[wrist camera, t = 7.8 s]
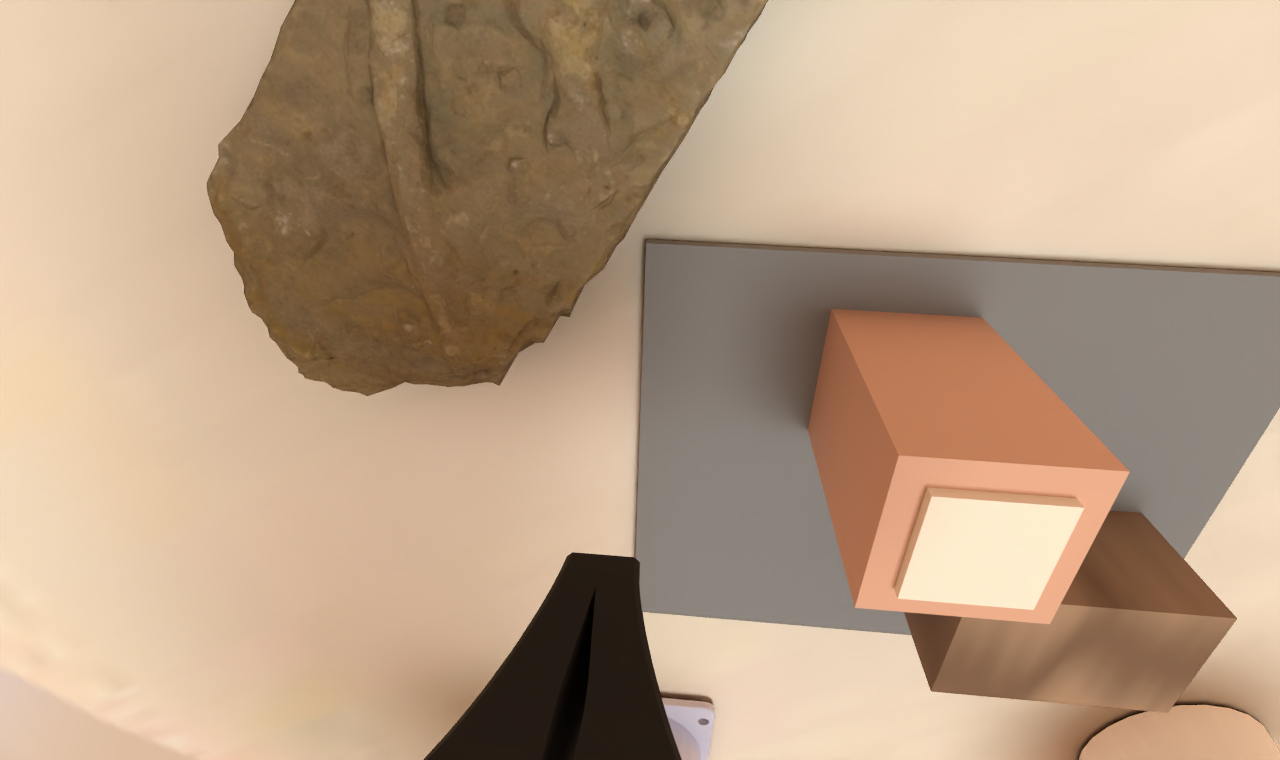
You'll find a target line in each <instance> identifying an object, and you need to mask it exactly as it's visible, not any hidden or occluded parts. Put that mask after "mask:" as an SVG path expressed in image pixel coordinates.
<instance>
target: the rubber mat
mask: <svg viewBox="0 0 1280 760" xmlns="http://www.w3.org/2000/svg"><path fill="white" fill-rule="evenodd" d="M831 309H842V310H860V311H877V312H894V313H912V314H929V315H946V316H963V317H981V318H983V319H984V320H985V321H986V322H987V323H988V324H989V325H990V326H991V327H992V328H993V329H994V330H995V331H996V332H997V333H998V334H999V335H1000V336H1001V338H1002V339H1003V340H1004V341H1005V342H1006V343H1007V344H1008V345H1009V346H1010V347H1011V348H1012V349H1013V350H1014V351H1015V352H1016V353H1017V354H1018V355H1019V356H1020V357H1021V358H1022V359H1023V360H1024V362H1025V363H1026V364H1027V365H1028V366H1029V367H1030V368H1031V369H1032V370H1033V371H1034V372H1035V373H1036V374H1037V375H1038V376H1039V377H1040V378H1041V379H1042V380H1043V381H1044V382H1045V383H1046V385H1047V386H1048V387H1049V388H1050V389H1051V390H1052V391H1053V392H1054V393H1055V394H1056V395H1057V396H1058V397H1059V398H1060V399H1061V400H1062V401H1063V402H1064V403H1065V404H1066V405H1067V406H1068V408H1069V409H1070V410H1071V411H1072V412H1073V413H1074V414H1075V415H1076V416H1077V417H1078V418H1079V419H1080V420H1081V421H1082V422H1083V423H1084V424H1085V425H1086V426H1087V427H1088V428H1089V429H1090V430H1091V432H1092V433H1093V434H1094V435H1095V436H1096V437H1097V438H1098V439H1099V440H1100V441H1101V442H1102V443H1103V444H1104V445H1105V446H1106V447H1107V448H1108V449H1109V450H1110V451H1111V452H1112V453H1113V455H1114V456H1115V457H1116V458H1117V459H1118V460H1119V461H1120V462H1121V463H1122V464H1123V465H1124V466H1125V467H1126V468H1127V469H1128V470H1129V471H1130V473H1129V474H1128V476H1127V478H1126V480H1125V482H1124V484H1123V486H1122V488H1121V490H1120V492H1119V493H1118V495H1117V497H1116V499H1115V501H1114V503H1113V505H1112V507H1111V509H1110V511H1122V512H1135V513H1142V514H1143V515H1144V516H1145V517H1146V518H1147V519H1148V520H1149V521H1150V522H1151V524H1152V525H1153V526H1154V527H1155V528H1156V529H1157V530H1158V531H1159V532H1160V534H1161V535H1162V536H1163V537H1164V538H1165V539H1166V540H1167V541H1168V542H1169V544H1170V545H1171V546H1172V547H1173V548H1174V549H1175V550H1176V551H1177V552H1178V554H1179V555H1180V556H1181V557H1182V558H1183V559H1184V558H1185V556H1186V555H1187V553H1188V552H1189V550H1190V548H1191V547H1192V545H1193V544H1194V542H1195V541H1196V539H1197V537H1198V536H1199V534H1200V533H1201V531H1202V529H1203V528H1204V526H1205V525H1206V523H1207V522H1208V520H1209V518H1210V517H1211V515H1212V514H1213V512H1214V511H1215V509H1216V507H1217V506H1218V504H1219V503H1220V501H1221V499H1222V498H1223V496H1224V495H1225V493H1226V492H1227V490H1228V488H1229V487H1230V485H1231V484H1232V482H1233V481H1234V479H1235V477H1236V476H1237V474H1238V473H1239V471H1240V469H1241V468H1242V466H1243V465H1244V463H1245V462H1246V460H1247V458H1248V457H1249V455H1250V454H1251V452H1252V451H1253V449H1254V447H1255V446H1256V444H1257V443H1258V441H1259V439H1260V438H1261V436H1262V435H1263V433H1264V432H1265V430H1266V428H1267V427H1268V425H1269V424H1270V422H1271V421H1272V419H1273V417H1274V416H1275V414H1276V413H1277V411H1278V409H1279V408H1280V272H1263V271H1244V270H1225V269H1206V268H1187V267H1168V266H1149V265H1130V264H1111V263H1091V262H1072V261H1053V260H1034V259H1015V258H996V257H977V256H958V255H939V254H920V253H901V252H882V251H863V250H844V249H825V248H806V247H787V246H768V245H749V244H730V243H711V242H692V241H673V240H654V239H647V241H646V260H645V289H644V319H643V348H642V378H641V407H640V437H639V466H638V496H637V525H636V555H635V558H636V559H637V560H638V561H639V562H640V579H639V585H640V598H641V606H642V612H650V613H662V614H673V615H685V616H697V617H708V618H720V619H731V620H743V621H754V622H766V623H778V624H789V625H801V626H812V627H824V628H835V629H847V630H858V631H870V632H882V633H893V634H905V635H911V632H910V629H909V626H908V623H907V620H906V617H905V614H904V612H899V611H887V610H875V609H863V608H855V607H854V603H853V599H852V596H851V592H850V588H849V584H848V580H847V577H846V573H845V569H844V565H843V562H842V558H841V554H840V550H839V546H838V543H837V539H836V535H835V531H834V528H833V524H832V520H831V516H830V513H829V509H828V505H827V501H826V497H825V494H824V490H823V486H822V482H821V479H820V475H819V471H818V467H817V464H816V460H815V456H814V452H813V448H812V445H811V441H810V437H809V433H808V426H809V421H810V416H811V411H812V406H813V401H814V396H815V391H816V385H817V380H818V375H819V370H820V365H821V360H822V355H823V349H824V344H825V339H826V334H827V329H828V324H829V319H830V314H831Z"/></svg>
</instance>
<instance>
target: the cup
mask: <svg viewBox="0 0 1280 760" xmlns="http://www.w3.org/2000/svg"><path fill="white" fill-rule="evenodd" d="M1079 760H1280V751H1279V749H1278V748H1277V746H1276V745H1275V743H1274V742H1273V740H1272V739H1271V737H1270V736H1269V734H1268V733H1267V731H1266V729H1265V728H1264V726H1263V725H1262V724H1261V723H1259V722H1258V721H1257V720H1255V719H1254V718H1252V717H1251V716H1250V715H1247V714H1245V713H1242V712H1239V711H1236V710H1233V709H1231V708H1225V707H1217V706H1210V705H1179V706H1172V708H1171V709H1170V710H1169V712H1168V713H1165V712H1154V711H1147V712H1143V713H1140V714H1136V715H1133V716H1130V717H1127V718H1125V719H1123V720H1121V721H1119V722H1117V723H1115V724H1113V725H1110V726H1108V727H1107V728H1105V729H1104V730H1103V731H1101V732H1100V733H1099V734H1097V735H1096V736H1094V737H1093V738H1092V739H1091V740H1090V741H1089V743H1088V744H1087V745H1086V746H1085V747H1084V749H1083V750H1082V752H1081V755H1080V758H1079Z"/></svg>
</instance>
